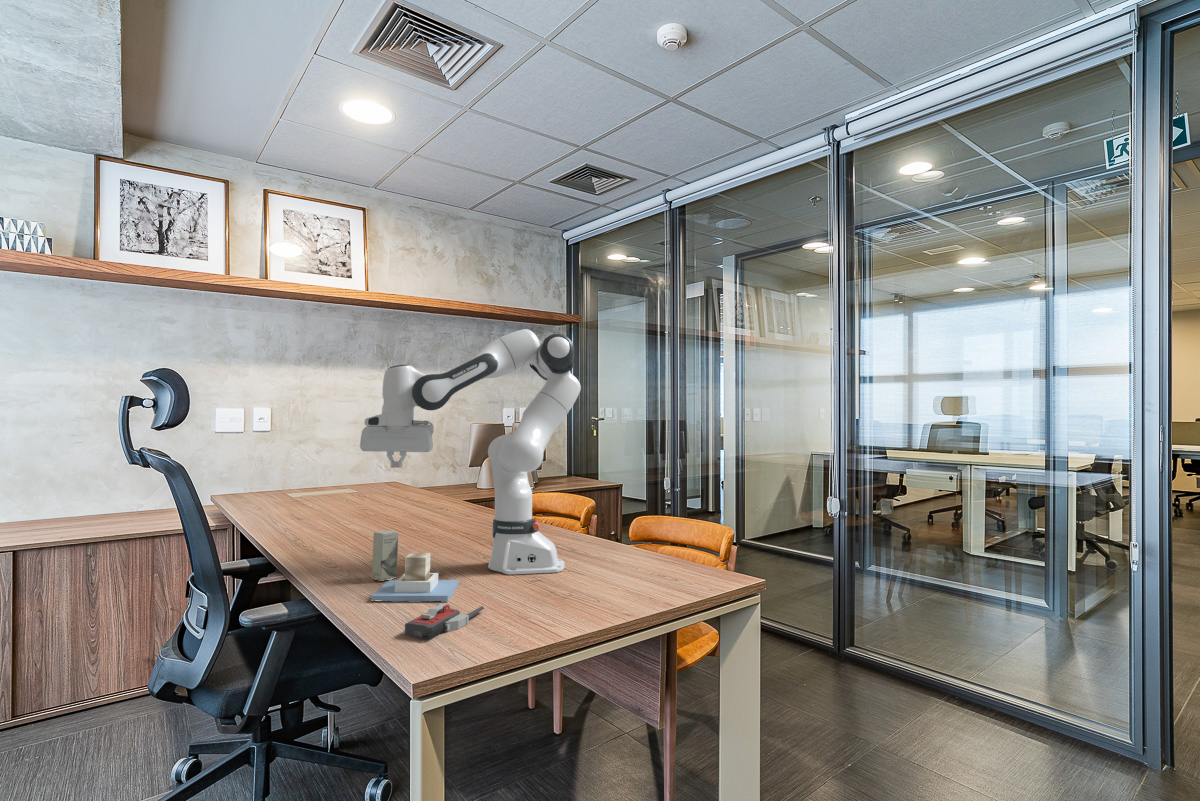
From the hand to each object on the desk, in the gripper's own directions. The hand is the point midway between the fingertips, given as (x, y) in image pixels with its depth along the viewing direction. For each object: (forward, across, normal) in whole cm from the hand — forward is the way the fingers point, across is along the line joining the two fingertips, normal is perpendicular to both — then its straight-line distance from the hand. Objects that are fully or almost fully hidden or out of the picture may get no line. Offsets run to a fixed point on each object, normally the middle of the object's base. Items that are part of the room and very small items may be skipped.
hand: (396, 467), depth 175 cm
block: (+28, -13, +25) cm, 39 cm away
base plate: (+29, -13, +25) cm, 40 cm away
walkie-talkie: (+30, -25, +47) cm, 61 cm away
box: (+30, -1, +12) cm, 32 cm away
